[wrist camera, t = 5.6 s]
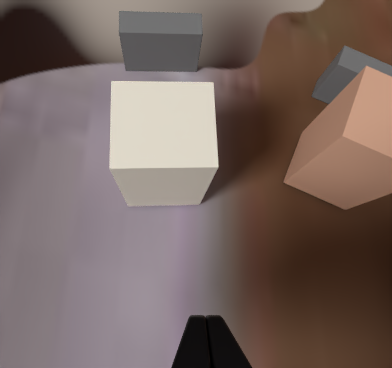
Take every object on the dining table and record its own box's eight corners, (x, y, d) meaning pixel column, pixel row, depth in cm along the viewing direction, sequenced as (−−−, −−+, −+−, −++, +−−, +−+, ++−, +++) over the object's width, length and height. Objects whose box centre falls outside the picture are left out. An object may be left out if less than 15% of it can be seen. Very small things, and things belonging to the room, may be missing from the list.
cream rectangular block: (199, 204, 22) (218, 167, 15) (128, 206, 22) (109, 168, 14) (196, 146, 23) (213, 82, 16) (128, 146, 23) (111, 81, 15)
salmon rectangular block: (345, 210, 23) (435, 177, 16) (283, 182, 23) (342, 136, 16) (361, 158, 24) (453, 103, 17) (302, 132, 24) (366, 65, 17)
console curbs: (551, 181, 25) (620, 164, 22) (541, 253, 24) (613, 249, 20) (151, 7, 26) (149, -39, 22) (117, 66, 25) (108, 27, 21)
